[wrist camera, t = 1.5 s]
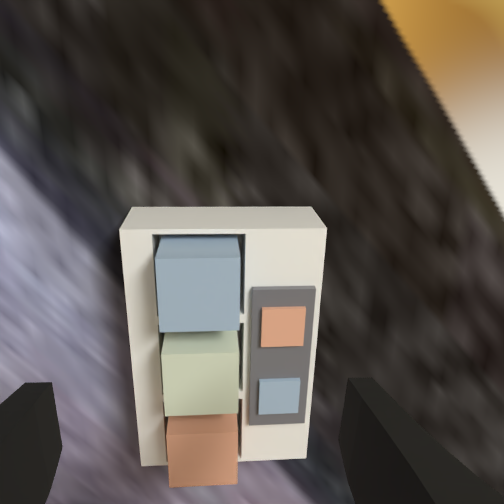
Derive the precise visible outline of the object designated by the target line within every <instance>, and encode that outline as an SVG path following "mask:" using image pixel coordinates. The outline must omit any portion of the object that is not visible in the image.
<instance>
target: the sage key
mask: <svg viewBox="0 0 504 504" xmlns="http://www.w3.org/2000/svg"><path fill="white" fill-rule="evenodd" d="M161 361H162V377H163V393H164V409H165V416H186V415H210V414H234V413H238V396H239V346H238V336H237V330H234V331H194V332H165V335H164V341H163V347H162V352H161Z"/></svg>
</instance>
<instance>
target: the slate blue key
mask: <svg viewBox="0 0 504 504" xmlns="http://www.w3.org/2000/svg"><path fill="white" fill-rule="evenodd" d="M240 259H241V258H240V251H239V245H238V238H237V235H162V237H161V240H160V244H159V247H158V251H157V254H156V257H155V266H156V282H157V298H158V314H159V329H160V332H194V331H234V330H239V327H240Z"/></svg>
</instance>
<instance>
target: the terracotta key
mask: <svg viewBox="0 0 504 504" xmlns="http://www.w3.org/2000/svg"><path fill="white" fill-rule="evenodd" d="M166 440H167V456H168V472H169V488H171V487H190V486H208V485H226V484H237V465H238V426H237V413H234V414H210V415H186V416H169V417H168V425H167V433H166Z"/></svg>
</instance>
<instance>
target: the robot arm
mask: <svg viewBox="0 0 504 504" xmlns="http://www.w3.org/2000/svg"><path fill="white" fill-rule="evenodd" d="M339 445H340V449H341V454H342V459H343V463H344V468H345V472H346V476H347V480H348V483H349V486H350V489H351V492H352V495H353V498H354V501H355V504H504V496H502V495H501V494H500V493H498V492H497V491H496V490H494V489H493V488H492V487H490V486H489V485H488V484H486V483H485V482H484V481H483V480H481V479H480V478H479V477H478V476H476V475H475V474H474V473H473V472H472V471H470V470H469V469H468V468H467V467H466V466H465V465H463V464H462V463H461V462H460V461H459V460H458V459H456V458H455V457H454V456H453V455H452V454H450V453H449V452H448V451H447V450H446V449H445V448H444V447H443V446H442V445H440V444H439V443H438V442H437V441H436V440H435V439H434V438H433V437H432V436H431V435H430V434H428V433H427V432H426V431H425V430H424V429H423V428H422V427H421V426H420V425H419V424H418V423H417V422H416V421H415V420H414V419H413V418H412V417H411V416H410V415H409V414H408V413H407V412H406V411H405V410H404V409H403V408H402V407H401V406H400V405H399V404H398V403H397V402H396V401H395V400H394V399H393V398H392V397H391V396H390V395H389V394H388V393H387V392H386V391H385V390H384V389H383V388H382V387H381V386H380V385H379V384H378V383H377V382H376V381H375V380H374V379H373V378H348V382H347V389H346V395H345V402H344V408H343V414H342V421H341V427H340V434H339ZM61 451H62V441H61V435H60V429H59V423H58V417H57V411H56V405H55V399H54V393H53V387H52V382H46V383H25V384H23V385H22V386H21V387H20V388H19V389H17V390H16V391H15V392H14V393H13V394H12V395H11V396H9V397H8V398H7V399H6V400H5V401H4V402H3V403H2V404H0V504H45V503H46V500H47V498H48V495H49V493H50V490H51V486H52V483H53V480H54V476H55V473H56V469H57V466H58V462H59V458H60V455H61Z"/></svg>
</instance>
